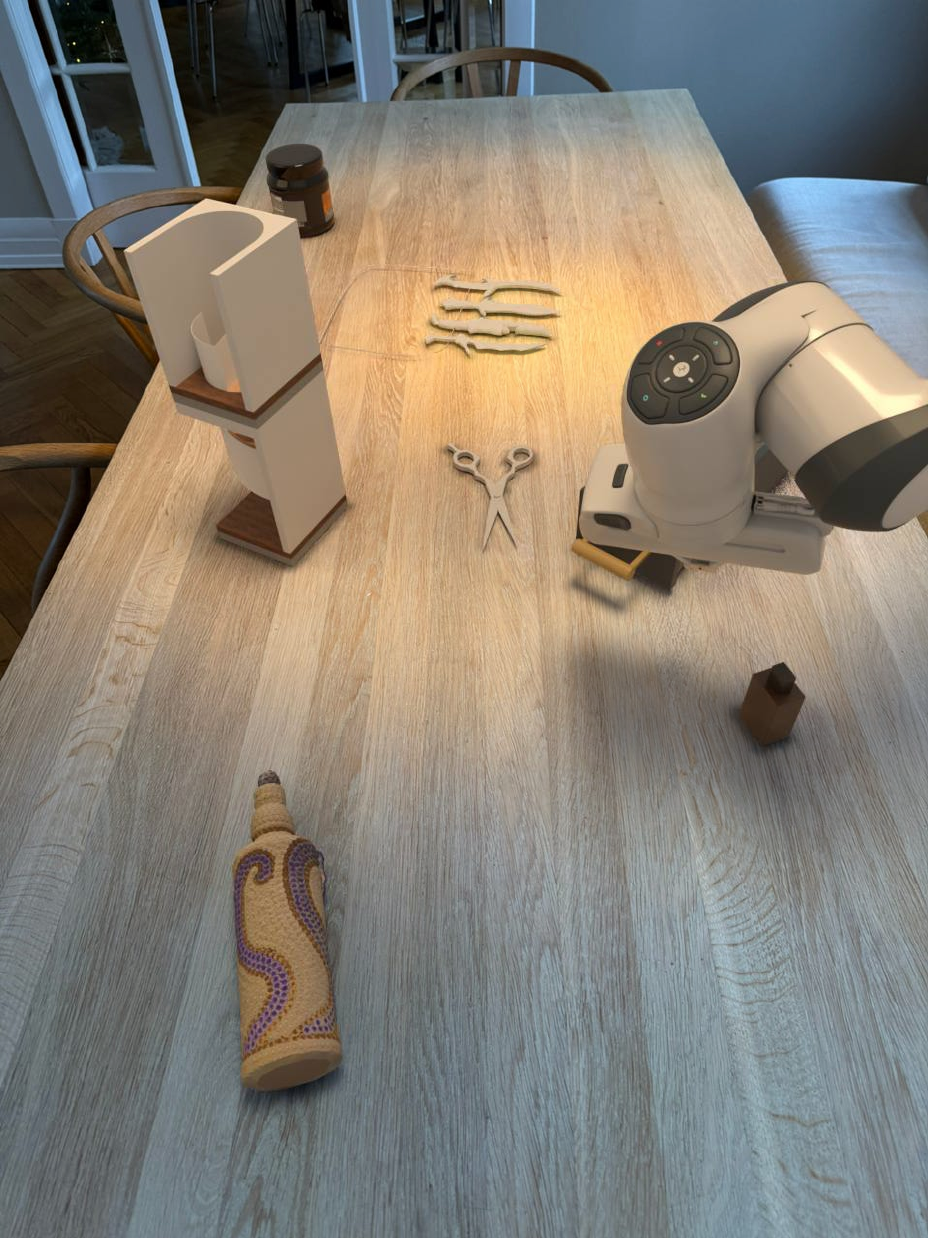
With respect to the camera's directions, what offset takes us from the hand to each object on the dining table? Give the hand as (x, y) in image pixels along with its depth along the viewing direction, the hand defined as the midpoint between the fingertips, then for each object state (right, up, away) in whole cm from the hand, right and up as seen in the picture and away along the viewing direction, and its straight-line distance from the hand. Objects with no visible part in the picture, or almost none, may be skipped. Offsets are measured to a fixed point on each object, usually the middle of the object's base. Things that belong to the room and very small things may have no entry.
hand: (702, 563), depth 81 cm
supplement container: (-50, +65, +76) cm, 112 cm away
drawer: (-1, +4, +19) cm, 20 cm away
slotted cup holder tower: (-43, +6, +25) cm, 50 cm away
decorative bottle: (-36, -31, -8) cm, 48 cm away
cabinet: (+7, +11, +26) cm, 29 cm away
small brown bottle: (+7, -15, +3) cm, 17 cm away
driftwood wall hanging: (-25, +41, +54) cm, 72 cm away
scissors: (-18, +10, +26) cm, 33 cm away
